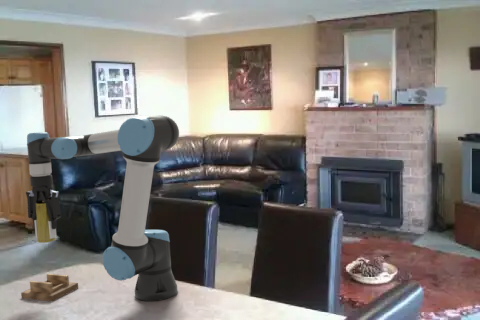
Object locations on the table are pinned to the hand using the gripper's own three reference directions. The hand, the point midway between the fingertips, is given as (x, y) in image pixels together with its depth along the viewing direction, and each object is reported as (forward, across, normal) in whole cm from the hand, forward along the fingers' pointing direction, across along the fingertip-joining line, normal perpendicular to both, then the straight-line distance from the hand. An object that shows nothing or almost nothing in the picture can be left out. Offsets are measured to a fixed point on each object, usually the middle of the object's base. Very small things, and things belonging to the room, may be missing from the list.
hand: (46, 237), depth 186 cm
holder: (+21, 0, 0) cm, 21 cm away
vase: (+2, 0, 0) cm, 2 cm away
